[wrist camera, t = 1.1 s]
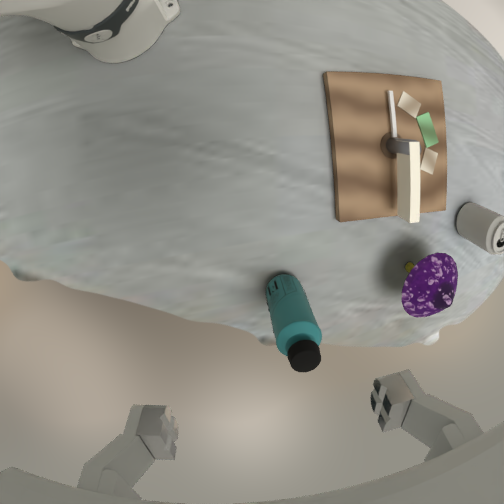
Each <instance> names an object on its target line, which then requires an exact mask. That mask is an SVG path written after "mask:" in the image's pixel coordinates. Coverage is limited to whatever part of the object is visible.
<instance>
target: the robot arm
mask: <svg viewBox="0 0 504 504" xmlns="http://www.w3.org/2000/svg"><path fill="white" fill-rule="evenodd" d="M171 4H172V5H173V6H171V7H168V6H169V5H171ZM180 11H181V10H180V6H179V4H178V1H177V0H0V17H3V16H29V17H33V18H36V19H39V20H42V21H44V22H47V23H49V24H52V25H53V26H54V27H55V28H56V29H57V30H58V31H59V32H60V33H62V34H63V35H66V36H68V37H69V38H70V39H72V44H73V45H74V46H76V47H78V48H81V49H85V50H87V51H88V52H89V53H90V54H91V55H92V56H93V57H94V58H96V59H97V60H100V61H102V62H106V63H120V62H124V61H128V60H130V59H133V58H135V57H137V56H139V55H140V54H142V53H144V52H145V51H146V50H147V49H149V48H150V47H151V46H152V45H153V44H154V43H155V42H156V40H157V39H158V38H159V36H160V35H161V33H162V31H163V30H164V28H165V27H166V25H167V24H169V23H170V22H171V21H172V20H174V19H175V18H176V17H177V16H178V15H179V14H180ZM373 385H374V388H375V389H374V390H373V391H372V392H371V406H372V409H373V411H374V413H375V414H377V415H379V417H378V423H379V425H380V427H381V430H382V432H386V431H389V430H393V429H396V428H400V427H401V428H402V429H403V430H405V431H406V432H408V433H409V434H411V435H412V436H413V437H415V438H416V439H418V440H419V441H421V442H422V443H424V444H425V445H427V446H428V447H429V448H431V449H430V451H429V453H428V454H427V456H426V457H425V459H424V461H425V462H423V463H421V464H418V465H416V466H413V467H411V468H408V469H405V470H403V471H400V472H397V473H394V474H391V475H388V476H385V477H382V478H379V479H376V480H372V481H369V482H365V483H362V484H358V485H355V486H351V487H346V488H342V489H338V490H334V491H329V492H324V493H320V494H314V495H309V496H302V497H296V498H289V499H282V500H274V501H264V502H253V503H235V504H504V421H503V422H502V423H500V424H498V425H497V426H495V427H494V428H492V429H490V430H488V431H487V432H485V433H484V432H483V431H482V429H481V428H480V426H479V425H478V423H477V422H476V420H475V419H474V417H473V416H472V414H471V413H469V412H467V411H464V410H462V409H460V408H458V407H455V406H453V405H451V404H449V403H447V402H445V401H443V400H440V399H439V398H437V397H434V396H432V395H430V394H427V395H426V394H425V392H424V391H423V390H422V388H421V386H420V385H419V383H418V382H417V380H416V378H415V377H414V375H413V374H412V373H411V371H410V370H404V371H401V372H398V373H393V374H390V375H386V376H383V377H379V378H376V379H375V380H374V383H373ZM171 413H172V410H171V408H170V406H161V405H160V406H159V405H133V406H132V407H131V410H130V413H129V416H128V420H127V423H126V426H125V430H124V434H120V435H119V436H117V437H116V438H115V439H114V440H113V441H112V442H110V443H109V444H108V445H107V446H106V447H105V448H103V449H102V450H101V451H100V452H99V453H97V454H96V455H95V456H94V457H93V458H91V459H90V460H89V461H88V462H86V463H85V464H84V466H83V470H82V472H81V476H80V479H79V482H78V485H77V488H76V487H72V486H69V485H65V484H62V483H58V482H55V481H52V480H48V479H45V478H42V477H39V476H36V475H34V474H31V473H28V472H25V471H23V470H20V469H18V468H14V467H10V468H7V469H5V470H3V471H1V472H0V504H185V503H168V502H156V501H147V500H141V497H140V495H139V494H137V493H136V491H134V490H133V489H132V487H133V486H134V485H135V484H136V483H137V482H138V480H139V479H140V478H141V477H142V476H143V475H144V473H145V472H146V471H147V470H148V469H149V467H150V466H151V465H152V464H153V463H154V461H155V459H157V460H158V459H159V460H175V453H176V446H175V443H174V442H175V441H176V440H177V439H178V425H177V421H176V419H175V417H173V416H171Z"/></svg>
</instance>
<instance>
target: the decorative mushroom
mask: <svg viewBox="0 0 504 504" xmlns="http://www.w3.org/2000/svg"><path fill="white" fill-rule="evenodd" d="M405 269H406V271H407V272H409V275H408V276H407V278H406V280H405V283H404V286H403V289H402V304H403V307H404V310H405V311H406V312H407V313H408V314H409V315H411V316H414V317H427V316H430V315H433V314H436V313H438V312H440V311H443V310H444V309H445V308H448V307H450V306H451V304H452V302H453V298H454V296H455V292H456V287H457V279H458V271H457V266H456V263H455V261H454V260H453V258H452V257H451V256H449V255H447V254H446V253H435V254H432V255H428V256H427V257H425V258H424V259H422V260H421V261H419V262H418V263H417V264H416V265H415V266H414V264H413V263H412V262H409V263H407V264H406V266H405Z"/></svg>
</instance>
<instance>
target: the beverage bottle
mask: <svg viewBox="0 0 504 504" xmlns="http://www.w3.org/2000/svg"><path fill="white" fill-rule="evenodd" d="M300 283H301V282H299V281H298V280H297V279H296V278H295V277H293V276H291V275H286V274H283V275H278V276H276V277H274V278H273V279H271V281H270V282H269V283H268V285H267V288H266V295H265V296H267V297H266V298H267V300H266V301H268V304H267V306H268V308H269V311H270V315H271V316H270V317H271V320H272V323H271V324H272V325H273V330H274V332H273V333H275V338H276V345H277V348H278V349H279V351H280V352H281V353H282V354H284V355H286V356H288V360H289V362H290V364H291V367H292V368H293V369H294V370H295V371H298V372H308V371H311V370H313V369H315V368H316V367H317V366H318V365H319V363H320V361H321V355H320V350H319V347H318V346H319V344H320V342H321V339H322V333H321V330H320V328H319V327H318V324H317V322H316V320H315V317H314V315H313V312H312V310H311V307H310V305H309V302H308V300H307V298H306V297H307V295H306V294H305V293H304V291H303V290H304V289H303V288H302V286H301V284H300Z"/></svg>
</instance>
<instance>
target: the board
mask: <svg viewBox="0 0 504 504" xmlns="http://www.w3.org/2000/svg"><path fill="white" fill-rule="evenodd" d="M323 77H324V84H325V92H326V100H327V108H328V117H329V127H330V137H331V148H332V160H333V174H334V190H335V209H336V219H337V220H338V221H339V222H346V221H355V220H363V219H372V218H380V217H389V216H397V207H398V182H397V154H394V153H390V152H389V151H388V150H387V148H386V142H387V140H388V139H389V138H402V139H412V140H417V141H418V142H419V143H420V145H421V154H420V213H425V212H434V211H443V210H446V192H447V145H446V125H445V112H444V101H443V92H442V84H441V81H438V80H432V79H425V78H418V77H410V76H401V75H391V74H379V73H362V72H325V73H324V74H323ZM387 91H393V96H394V105H395V115H396V127H397V137H392V133H391V121H390V110H389V101H388V92H387Z"/></svg>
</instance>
